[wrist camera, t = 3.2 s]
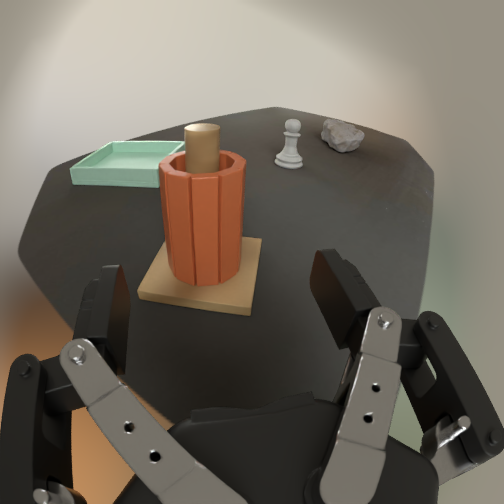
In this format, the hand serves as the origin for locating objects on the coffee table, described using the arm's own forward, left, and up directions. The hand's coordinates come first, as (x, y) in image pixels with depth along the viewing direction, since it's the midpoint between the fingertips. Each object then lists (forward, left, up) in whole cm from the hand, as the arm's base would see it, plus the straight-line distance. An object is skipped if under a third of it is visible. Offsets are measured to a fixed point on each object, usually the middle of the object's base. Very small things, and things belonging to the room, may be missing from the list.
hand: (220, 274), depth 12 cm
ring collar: (-3, +10, -8) cm, 14 cm away
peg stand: (-3, +11, -9) cm, 14 cm away
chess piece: (+4, +40, -9) cm, 41 cm away
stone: (+15, +56, -9) cm, 58 cm away
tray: (-21, +33, -9) cm, 40 cm away
